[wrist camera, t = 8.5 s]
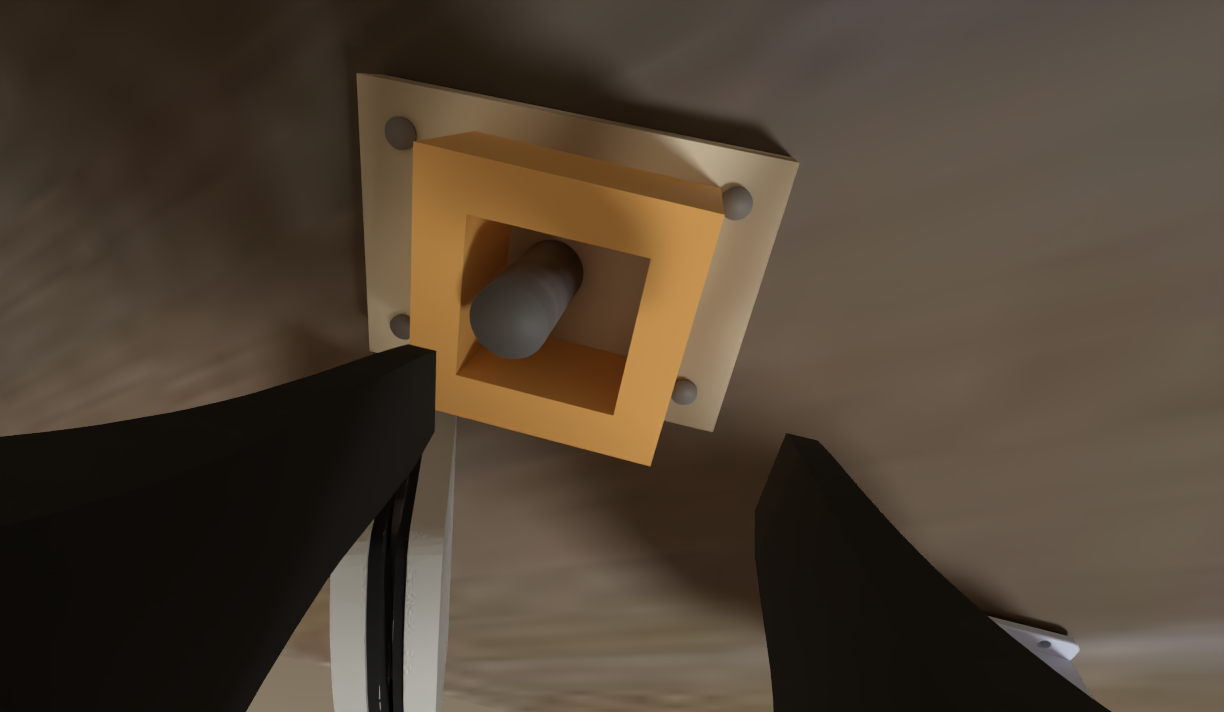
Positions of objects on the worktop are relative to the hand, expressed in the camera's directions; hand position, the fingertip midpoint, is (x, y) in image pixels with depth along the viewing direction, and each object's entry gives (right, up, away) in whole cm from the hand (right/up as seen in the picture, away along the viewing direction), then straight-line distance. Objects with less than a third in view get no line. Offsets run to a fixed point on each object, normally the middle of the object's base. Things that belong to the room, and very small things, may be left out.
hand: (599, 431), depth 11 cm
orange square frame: (-1, +4, +8) cm, 9 cm away
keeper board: (-2, +5, +9) cm, 11 cm away
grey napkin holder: (-9, -8, +17) cm, 21 cm away
